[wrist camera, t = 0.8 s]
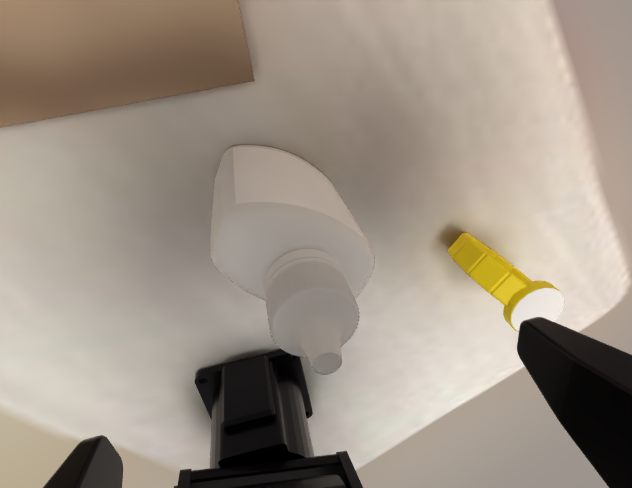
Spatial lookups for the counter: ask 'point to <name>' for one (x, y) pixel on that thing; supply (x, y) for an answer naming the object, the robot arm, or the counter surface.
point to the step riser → (114, 53)
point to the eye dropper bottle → (290, 249)
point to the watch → (506, 283)
